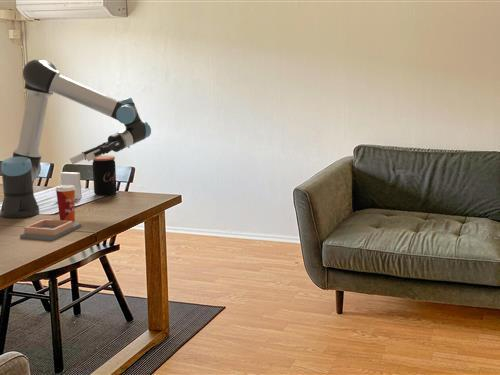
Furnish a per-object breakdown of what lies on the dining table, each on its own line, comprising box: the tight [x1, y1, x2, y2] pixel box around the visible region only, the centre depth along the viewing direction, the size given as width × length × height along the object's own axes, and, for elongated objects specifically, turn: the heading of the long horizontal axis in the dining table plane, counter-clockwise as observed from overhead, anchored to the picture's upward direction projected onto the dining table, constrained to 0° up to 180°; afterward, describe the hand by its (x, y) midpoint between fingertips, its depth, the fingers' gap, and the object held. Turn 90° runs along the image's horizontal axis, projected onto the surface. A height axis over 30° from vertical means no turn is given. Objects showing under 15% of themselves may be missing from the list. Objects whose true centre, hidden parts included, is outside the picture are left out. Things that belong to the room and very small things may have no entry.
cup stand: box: [19, 218, 82, 242], centre depth 230 cm, size 13×20×3 cm, turn 164°
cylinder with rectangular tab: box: [60, 171, 83, 200], centre depth 287 cm, size 9×9×12 cm
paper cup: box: [55, 184, 76, 222], centre depth 246 cm, size 8×8×14 cm
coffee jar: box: [91, 155, 117, 197], centre depth 295 cm, size 11×11×18 cm
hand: (79, 159), depth 251 cm, fingers open, 13 cm apart
